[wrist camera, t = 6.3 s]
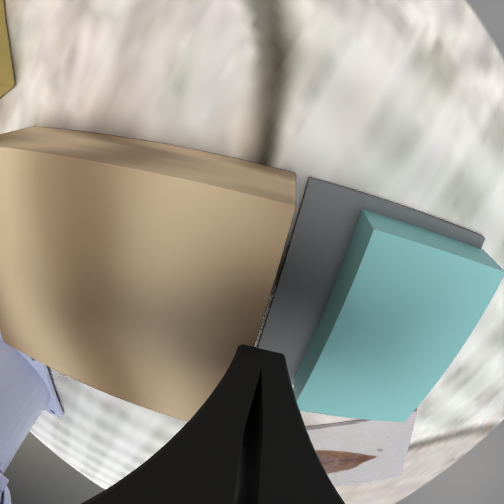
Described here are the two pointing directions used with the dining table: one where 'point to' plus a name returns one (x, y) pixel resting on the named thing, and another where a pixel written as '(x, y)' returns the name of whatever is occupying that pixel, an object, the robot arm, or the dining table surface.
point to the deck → (136, 260)
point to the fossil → (362, 448)
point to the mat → (328, 261)
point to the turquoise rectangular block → (393, 320)
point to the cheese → (5, 56)
